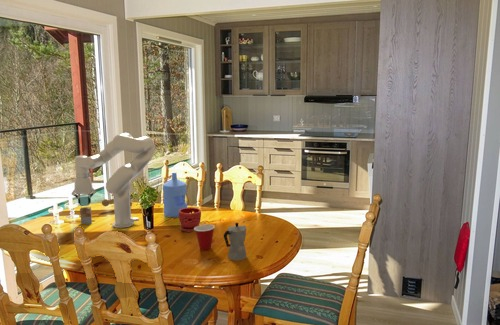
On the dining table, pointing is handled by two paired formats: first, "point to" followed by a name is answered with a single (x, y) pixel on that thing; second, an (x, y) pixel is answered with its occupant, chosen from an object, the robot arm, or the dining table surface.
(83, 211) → the walnut block
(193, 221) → the plant pot
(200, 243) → the plastic cup
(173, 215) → the water jug
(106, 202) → the toy helicopter
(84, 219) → the base block
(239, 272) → the dining table surface
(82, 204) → the teal block
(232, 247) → the coffeepot
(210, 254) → the dining table surface
